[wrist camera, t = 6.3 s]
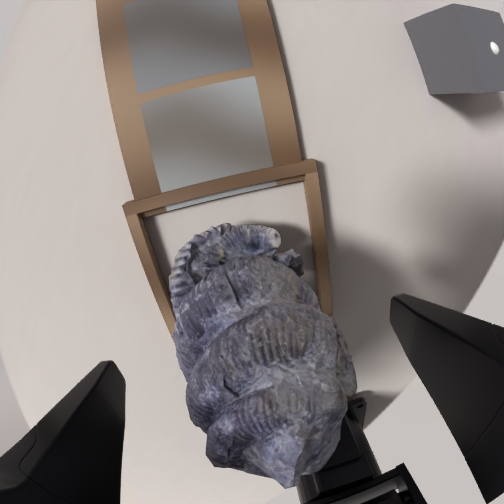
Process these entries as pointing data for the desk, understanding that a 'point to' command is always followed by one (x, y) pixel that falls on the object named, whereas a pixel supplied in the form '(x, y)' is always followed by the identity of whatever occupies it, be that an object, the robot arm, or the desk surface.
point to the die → (459, 49)
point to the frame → (224, 184)
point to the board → (196, 93)
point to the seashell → (258, 354)
